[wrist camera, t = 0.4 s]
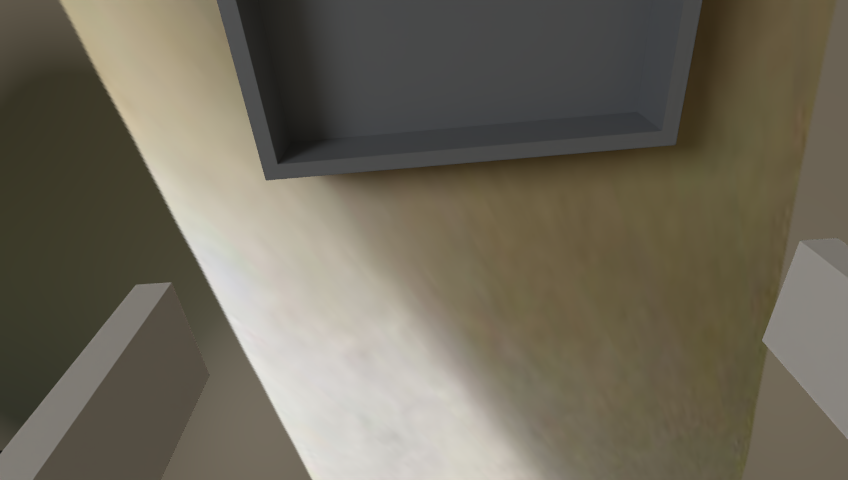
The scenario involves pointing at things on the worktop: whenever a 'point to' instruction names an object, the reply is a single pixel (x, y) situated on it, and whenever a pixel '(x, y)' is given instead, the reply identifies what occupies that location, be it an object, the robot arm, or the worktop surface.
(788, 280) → the robot arm
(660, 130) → the tray
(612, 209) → the worktop surface
